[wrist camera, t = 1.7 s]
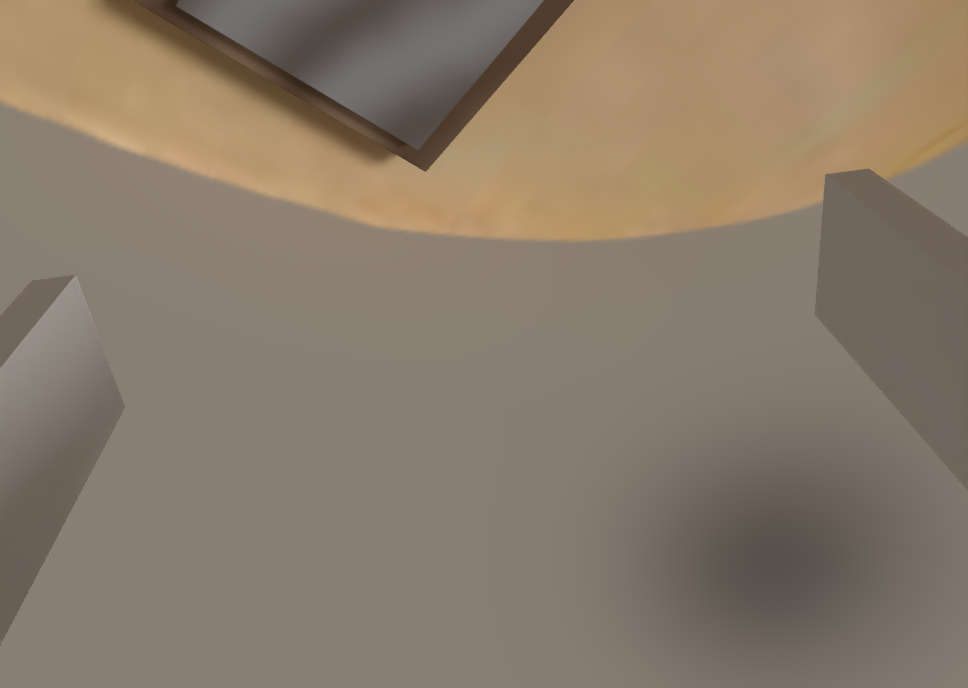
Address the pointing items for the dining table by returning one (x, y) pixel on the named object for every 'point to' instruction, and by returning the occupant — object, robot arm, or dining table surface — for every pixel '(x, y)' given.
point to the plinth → (377, 57)
